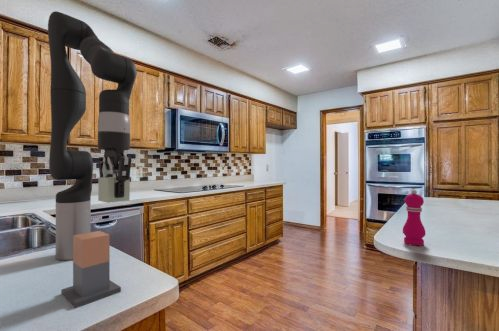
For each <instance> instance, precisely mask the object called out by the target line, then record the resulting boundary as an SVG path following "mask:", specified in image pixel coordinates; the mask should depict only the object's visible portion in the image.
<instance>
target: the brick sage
mask: <svg viewBox="0 0 499 331" xmlns="http://www.w3.org/2000/svg"><path fill="white" fill-rule="evenodd" d="M130 180H131V179H130V178H129V180H126V182H124V197H121V198H115V197H114V183H115V182H114V177H100V176H99V177H98V184H97V185H98V188H97V189H98V202H99V201H100V202H103V203H107V204H108V203H109V204H110V203H117V202H127V201H130V197H131V196H130V195H131V194H130V191H131V190H130V188H131V186H130V184H131V183H130V182H131V181H130Z"/></svg>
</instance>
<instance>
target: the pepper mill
mask: <svg viewBox="0 0 499 331" xmlns="http://www.w3.org/2000/svg"><path fill="white" fill-rule="evenodd" d="M404 203H405V205H406V207H405V208H406V209H405V211H407V219H406V221H405V223H404V225H403V227H402V234H403V235H404V236H405V237H403V242H405V243H404V244H406V243H407V244H406V245H408V244H411V245H410V246H413V245H423V246H425V240H424V239H423V238H424V237H425V236H426V228H425V226H424V224H423V223H422V221H421V220H422V219H421V212H423V210H422V209H423V207H422V206H424V203H425V201H424V197H423V196H422V195H420V194H418V192H417V190H416V189H411V193H409V194H407V195H406V196H405V197H404Z"/></svg>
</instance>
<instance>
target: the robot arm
mask: <svg viewBox="0 0 499 331" xmlns="http://www.w3.org/2000/svg"><path fill="white" fill-rule="evenodd" d="M47 23H48V24H47V38H48V48H49V58H50V114H51V115H50V116H51V121H50V122H51V123H50V124H51V128H50V129H51V131H50V145H49V157H48V158H49V160H48V161H49V162H48V167H49V168H48V169H49V175H50V176H51V178H52V180H55V181H65V180H66V181H70V180H71V181H72V180H75V181H74V184H73V185H71V186H69V187H68V188H65V189H64V190H60V191H58V192H57V193H56V194H55V260H58V261H73V235H78V234H84V233H90V232H92V231H91V226H92V225H91V224H92V223H91V222H92V221H91V216H92V215H91V210H92V209H91V199H92V198H91V195H92V189H93V176H94V175H93V172H94V160H93V159H94V158H93V156H92V154H91V152H89V151H88V150H87V151H86V150H71V149H70V150H69V149H67V144H68V139H69V136H70V134H71V133H72V131H73V129H74V128H75V127H76V125H77V124H78V123H79V122H80V120H81V119H82V117H83V116H84V115H85V112H86V110H87V91H86V88H85V85H84V83H83V81H82V80H81V77H80V76H79V75H78V73H77V72H76V70H75V69H74V67H73V65H72V64H71V62H70V59H69V56H68V53H67V50H66V48H69V49H73V50H76V51H80V54H81V56H82V58H83V59H84V61H86V62H87V63H88V64H89V65H90V69H91V73H92V75H93V76H95V77H96V78H98V79H100V80H103V81H106V82H111V83H115V84H117V87H116V89H103V90H101V91H100V92H99V96H98V97H99V98H98V119H97V148H98V149H99V150H102V151H103V152H104V153H103V156H99V157H98V170H99V177H114V182H115V183H114V197H115V198H121V197H124V182H126V180H129V178H130V177H131V176H130V175H131V166H132V156H126V154H125V151H129V150H130V149H131V121H130V100H131V95H132V91H133V88H134V85H135V81H136V78H137V75H138V73H137V72H138V70H137V67H136V64H135V63H134V61H133V60H132V59H130V58H128V57H125V56H121V55H120V54H116V53H115V52H114V51H113V50H112V48H111V47H109V46H108V45H107V44H106V43H104V42H103V41H101V39H100V38H98V36H97V34H96V33H95V31H94V30H93V29H92V27H91V26H90V25H89V24H88V23H87V22H85V21H83V20H81V19H78V18H76V17H74V16H71V15H69V14H66V13H63V12H60V11H56V10H55V11H52V12H51V13H50V15H49V18H48V22H47Z"/></svg>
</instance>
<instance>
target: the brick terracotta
mask: <svg viewBox="0 0 499 331" xmlns="http://www.w3.org/2000/svg"><path fill="white" fill-rule="evenodd" d="M110 237H111V236H110V234H108V233H107V232H103V231H101V230H96V231H91V232H90V233H84V234H78V235H73V259H72V263H73V262H74V263H75V264H77V265H78V266H80V267H81V268H86V267H89V266H93V265H97V264H101V263H104V262H108V261H110V256H111V255H110V254H111V253H110V246H111V245H110V243H111V242H110V240H111V239H110ZM110 262H111V261H110Z"/></svg>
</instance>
